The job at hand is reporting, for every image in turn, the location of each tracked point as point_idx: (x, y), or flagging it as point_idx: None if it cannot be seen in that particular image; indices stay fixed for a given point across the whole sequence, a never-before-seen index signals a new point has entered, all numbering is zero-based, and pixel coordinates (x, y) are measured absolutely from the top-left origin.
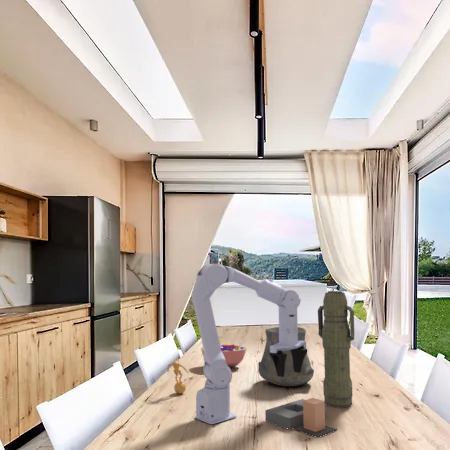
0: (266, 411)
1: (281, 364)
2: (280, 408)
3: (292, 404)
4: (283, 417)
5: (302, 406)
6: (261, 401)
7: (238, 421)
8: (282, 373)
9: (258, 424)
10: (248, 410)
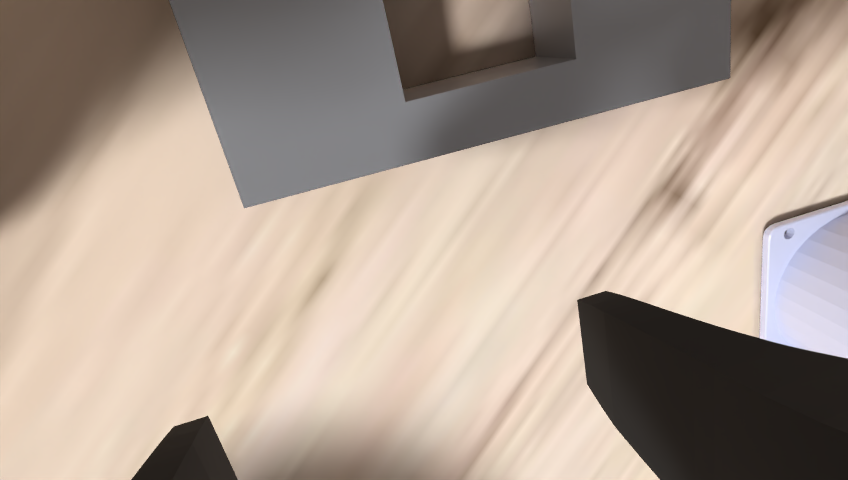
0: (724, 64)
1: (826, 363)
2: (608, 50)
3: (440, 101)
4: None
5: (382, 5)
6: (434, 455)
7: (794, 161)
8: (643, 306)
9: (745, 42)
10: None
